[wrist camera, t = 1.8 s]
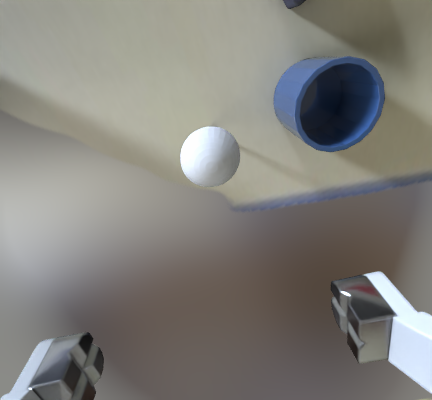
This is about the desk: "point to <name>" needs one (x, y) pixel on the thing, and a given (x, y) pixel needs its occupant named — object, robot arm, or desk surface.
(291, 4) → the calculator
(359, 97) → the cup
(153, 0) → the desk surface
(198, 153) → the lollipop
